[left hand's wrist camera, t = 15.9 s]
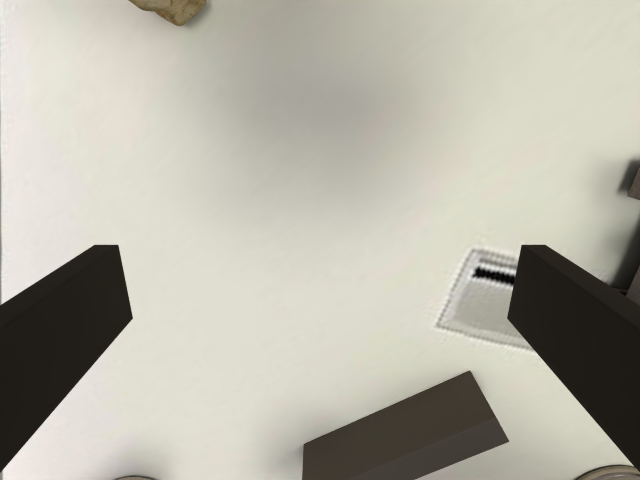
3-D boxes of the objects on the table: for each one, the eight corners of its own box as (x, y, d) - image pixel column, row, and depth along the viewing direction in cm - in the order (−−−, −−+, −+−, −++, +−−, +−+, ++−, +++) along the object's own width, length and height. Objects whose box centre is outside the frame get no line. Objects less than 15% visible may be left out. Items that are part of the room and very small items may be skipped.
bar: (470, 370, 53) (496, 417, 45) (482, 392, 54) (509, 441, 46) (303, 444, 58) (301, 498, 50) (318, 462, 59) (318, 518, 51)
